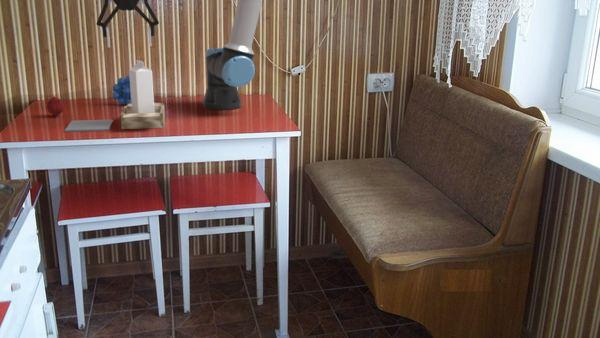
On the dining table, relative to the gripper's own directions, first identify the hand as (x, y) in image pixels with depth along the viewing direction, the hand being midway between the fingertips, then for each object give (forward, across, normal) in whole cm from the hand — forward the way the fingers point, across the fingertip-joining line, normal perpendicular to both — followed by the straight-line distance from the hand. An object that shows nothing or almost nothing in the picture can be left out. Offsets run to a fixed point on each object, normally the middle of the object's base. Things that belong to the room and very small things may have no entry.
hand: (130, 46), depth 207 cm
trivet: (+26, +15, +3) cm, 31 cm away
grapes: (+27, +2, -31) cm, 41 cm away
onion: (+26, +28, -15) cm, 41 cm away
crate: (+26, -3, +2) cm, 27 cm away
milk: (+27, -3, +2) cm, 27 cm away
